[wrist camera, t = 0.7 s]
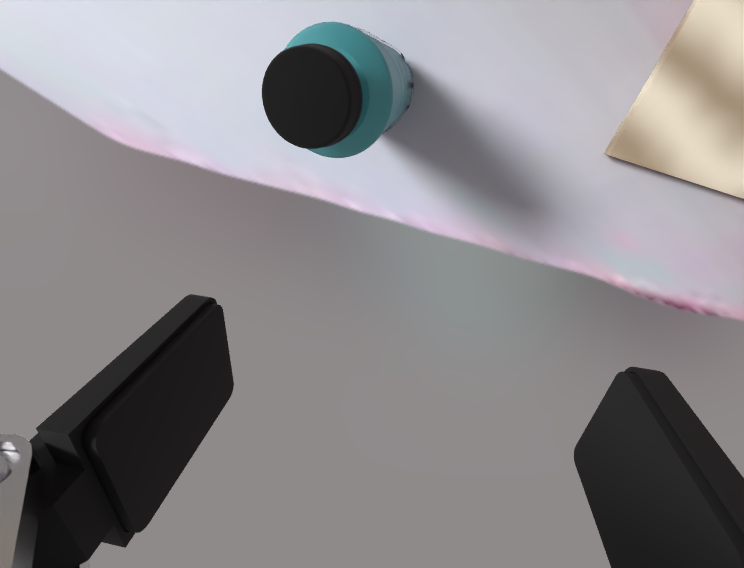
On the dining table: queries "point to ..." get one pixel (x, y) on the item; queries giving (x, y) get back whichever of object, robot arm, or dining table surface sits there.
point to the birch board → (693, 103)
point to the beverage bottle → (335, 90)
